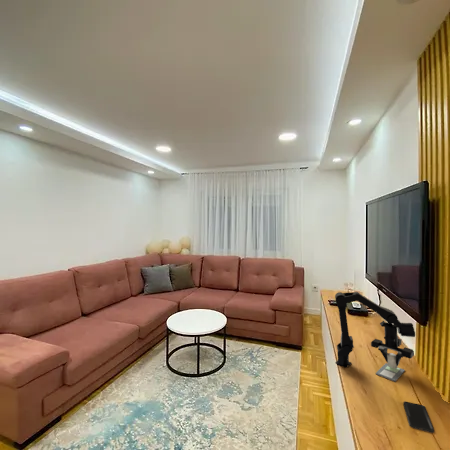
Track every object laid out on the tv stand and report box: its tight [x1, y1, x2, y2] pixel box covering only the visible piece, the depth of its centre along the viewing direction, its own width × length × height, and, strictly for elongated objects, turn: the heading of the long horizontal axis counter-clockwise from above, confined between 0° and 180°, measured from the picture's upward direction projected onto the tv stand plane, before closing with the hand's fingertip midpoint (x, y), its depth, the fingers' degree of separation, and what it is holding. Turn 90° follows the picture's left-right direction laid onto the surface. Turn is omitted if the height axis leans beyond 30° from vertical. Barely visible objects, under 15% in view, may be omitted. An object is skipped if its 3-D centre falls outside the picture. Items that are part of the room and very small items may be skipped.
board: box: [375, 362, 406, 383], centre depth 135 cm, size 14×9×1 cm, turn 129°
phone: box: [402, 400, 435, 434], centre depth 104 cm, size 8×1×15 cm
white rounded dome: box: [386, 352, 398, 369], centre depth 137 cm, size 4×4×6 cm
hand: (392, 364), depth 137 cm, fingers closed on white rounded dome, 4 cm apart
